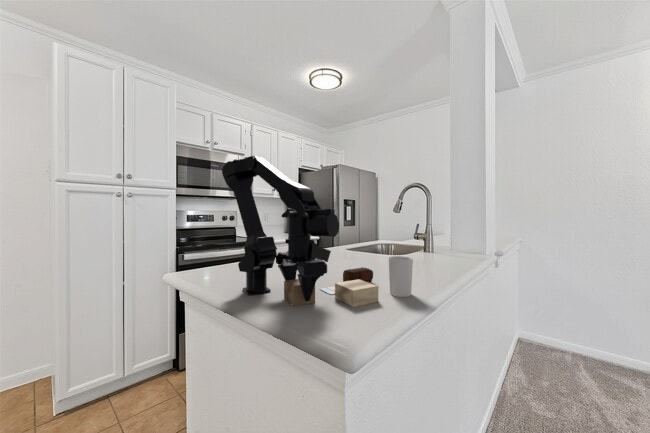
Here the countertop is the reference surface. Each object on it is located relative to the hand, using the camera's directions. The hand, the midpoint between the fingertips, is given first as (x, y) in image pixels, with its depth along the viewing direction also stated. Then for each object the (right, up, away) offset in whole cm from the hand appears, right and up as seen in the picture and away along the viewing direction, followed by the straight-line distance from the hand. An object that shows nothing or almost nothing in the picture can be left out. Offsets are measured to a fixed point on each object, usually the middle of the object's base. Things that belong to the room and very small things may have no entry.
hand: (299, 295), depth 70 cm
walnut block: (0, -1, 0) cm, 1 cm away
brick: (+17, -1, +16) cm, 24 cm away
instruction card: (+11, -1, +10) cm, 14 cm away
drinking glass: (+28, -1, +6) cm, 28 cm away
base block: (+15, -1, +1) cm, 15 cm away
